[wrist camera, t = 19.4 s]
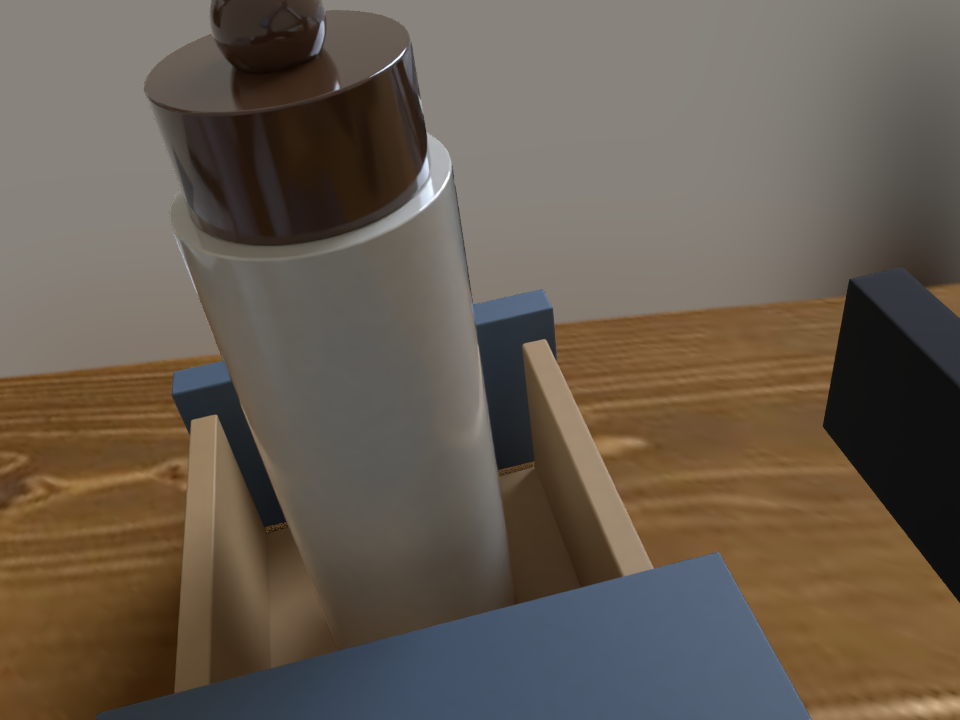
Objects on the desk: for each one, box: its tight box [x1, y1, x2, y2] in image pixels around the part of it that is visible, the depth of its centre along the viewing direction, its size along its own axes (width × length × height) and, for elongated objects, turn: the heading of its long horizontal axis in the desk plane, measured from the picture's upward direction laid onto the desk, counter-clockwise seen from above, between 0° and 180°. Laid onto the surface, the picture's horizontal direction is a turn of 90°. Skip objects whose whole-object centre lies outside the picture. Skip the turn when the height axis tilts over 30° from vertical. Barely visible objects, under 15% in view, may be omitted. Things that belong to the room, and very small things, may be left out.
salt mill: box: [144, 0, 517, 651], centre depth 21 cm, size 6×6×19 cm
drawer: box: [172, 289, 654, 693], centre depth 27 cm, size 20×12×7 cm, turn 13°
